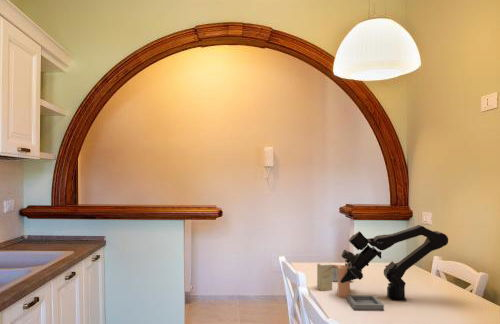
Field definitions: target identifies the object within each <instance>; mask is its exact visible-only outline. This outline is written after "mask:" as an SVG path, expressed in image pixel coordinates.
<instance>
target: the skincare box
mask: <svg viewBox="0 0 500 324" xmlns="http://www.w3.org/2000/svg"><path fill="white" fill-rule="evenodd" d="M332 265H333V264H332V263H330V262H321V263H320V262H319V263H317V265H316V266H317V267H316V273H317V274H316V277H317V279H316V284H317V285H316V286H317V289H318V290H319V291H332V290H333V282H332Z"/></svg>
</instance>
